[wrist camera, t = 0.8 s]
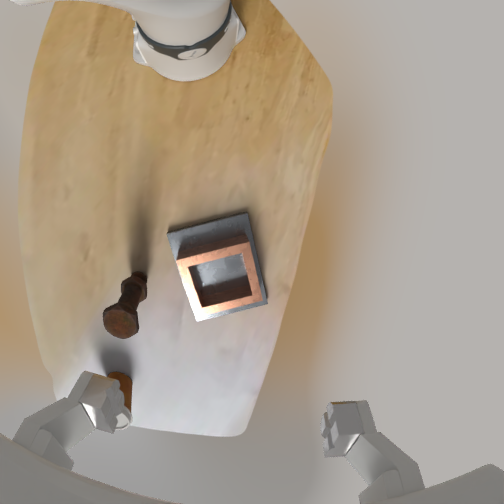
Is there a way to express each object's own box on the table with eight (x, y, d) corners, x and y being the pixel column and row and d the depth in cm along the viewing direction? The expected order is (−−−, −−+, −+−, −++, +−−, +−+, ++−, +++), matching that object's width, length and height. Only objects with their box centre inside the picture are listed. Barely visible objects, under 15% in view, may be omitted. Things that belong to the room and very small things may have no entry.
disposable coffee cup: (143, 376, 60) (136, 415, 49) (133, 398, 62) (126, 435, 51) (105, 360, 57) (92, 398, 46) (98, 384, 60) (86, 420, 48)
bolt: (144, 260, 51) (125, 303, 37) (158, 283, 52) (145, 330, 39) (119, 273, 51) (94, 317, 37) (134, 295, 53) (115, 343, 39)
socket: (167, 232, 49) (163, 241, 45) (246, 211, 50) (250, 219, 45) (197, 317, 56) (196, 333, 51) (266, 300, 57) (272, 315, 52)
